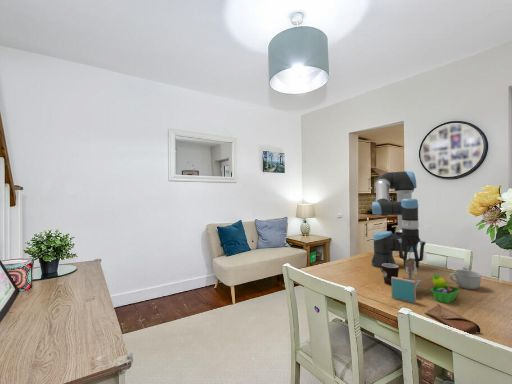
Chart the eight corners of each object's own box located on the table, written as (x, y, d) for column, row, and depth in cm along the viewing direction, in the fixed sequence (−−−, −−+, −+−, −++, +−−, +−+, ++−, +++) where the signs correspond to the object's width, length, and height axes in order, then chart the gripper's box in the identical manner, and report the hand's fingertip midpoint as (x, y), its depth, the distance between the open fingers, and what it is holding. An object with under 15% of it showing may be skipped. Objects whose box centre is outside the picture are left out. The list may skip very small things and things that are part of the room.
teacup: (475, 284, 139) (474, 270, 139) (486, 292, 129) (485, 276, 129) (444, 282, 144) (444, 268, 144) (453, 289, 133) (452, 274, 133)
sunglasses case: (421, 312, 110) (428, 298, 111) (434, 319, 111) (440, 305, 112) (461, 335, 92) (469, 318, 93) (475, 343, 93) (483, 326, 94)
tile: (392, 296, 127) (392, 276, 127) (416, 302, 120) (415, 281, 120) (391, 298, 126) (391, 277, 126) (415, 303, 119) (414, 282, 119)
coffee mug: (401, 286, 140) (401, 268, 140) (384, 285, 142) (384, 267, 142) (394, 279, 151) (394, 262, 151) (378, 278, 153) (378, 261, 153)
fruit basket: (449, 305, 116) (448, 280, 116) (427, 298, 124) (427, 275, 124) (459, 299, 122) (459, 275, 122) (438, 293, 130) (438, 270, 130)
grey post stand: (405, 276, 141) (404, 257, 141) (422, 279, 136) (421, 259, 135) (396, 284, 129) (396, 263, 129) (415, 288, 124) (414, 266, 124)
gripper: (391, 227, 138) (392, 271, 138) (426, 230, 127) (428, 277, 127) (395, 226, 143) (396, 268, 143) (429, 228, 132) (431, 274, 132)
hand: (411, 272), depth 135 cm, fingers closed on grey post stand, 3 cm apart
